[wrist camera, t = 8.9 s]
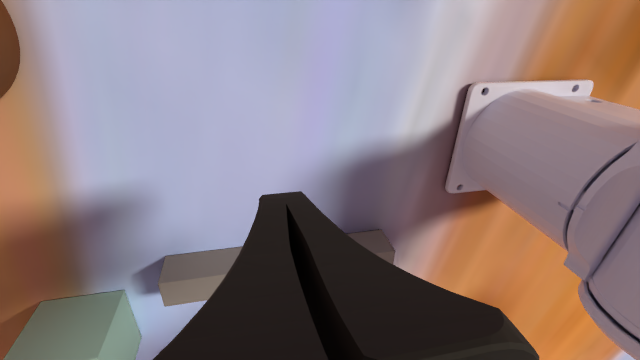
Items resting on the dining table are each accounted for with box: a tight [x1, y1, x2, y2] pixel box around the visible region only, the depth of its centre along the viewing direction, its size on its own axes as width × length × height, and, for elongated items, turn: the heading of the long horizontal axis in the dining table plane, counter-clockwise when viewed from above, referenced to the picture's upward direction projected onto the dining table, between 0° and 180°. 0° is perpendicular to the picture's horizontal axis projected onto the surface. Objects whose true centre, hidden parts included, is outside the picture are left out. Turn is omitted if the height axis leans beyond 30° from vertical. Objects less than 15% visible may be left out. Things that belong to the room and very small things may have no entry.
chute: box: [158, 230, 395, 306], centre depth 25 cm, size 16×10×2 cm, turn 89°
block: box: [3, 290, 141, 360], centre depth 21 cm, size 5×5×5 cm
